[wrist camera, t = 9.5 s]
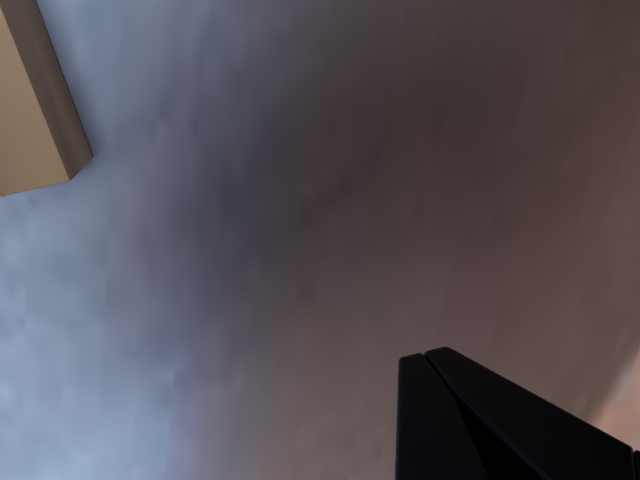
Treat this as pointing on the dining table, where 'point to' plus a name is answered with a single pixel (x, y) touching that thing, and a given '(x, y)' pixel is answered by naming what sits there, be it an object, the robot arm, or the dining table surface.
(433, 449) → the robot arm
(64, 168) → the stand
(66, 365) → the dining table surface
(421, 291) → the dining table surface
